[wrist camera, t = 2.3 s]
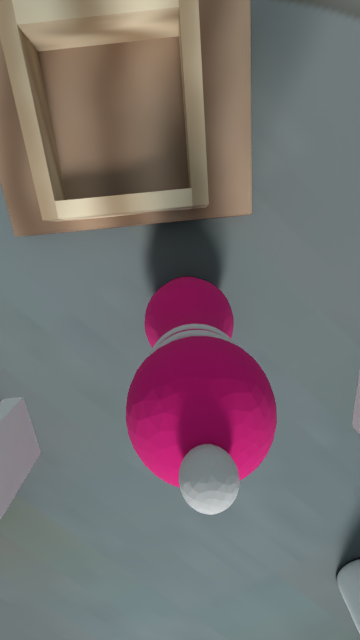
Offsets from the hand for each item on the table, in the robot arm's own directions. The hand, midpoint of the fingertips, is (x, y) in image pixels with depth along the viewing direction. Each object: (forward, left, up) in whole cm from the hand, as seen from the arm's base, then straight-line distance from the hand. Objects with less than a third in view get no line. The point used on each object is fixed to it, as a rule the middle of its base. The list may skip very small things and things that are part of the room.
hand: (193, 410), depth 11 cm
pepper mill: (0, 0, -16) cm, 16 cm away
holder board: (+4, -15, -16) cm, 22 cm away
